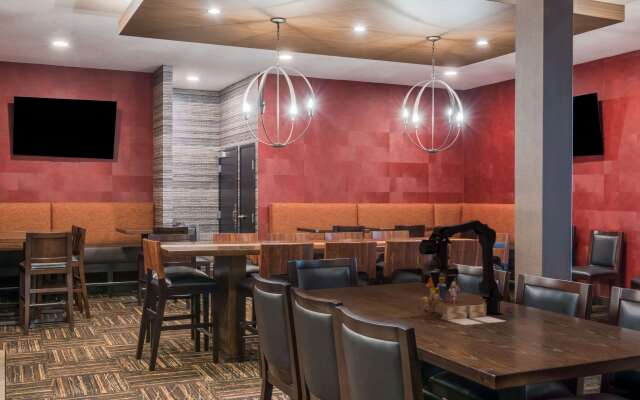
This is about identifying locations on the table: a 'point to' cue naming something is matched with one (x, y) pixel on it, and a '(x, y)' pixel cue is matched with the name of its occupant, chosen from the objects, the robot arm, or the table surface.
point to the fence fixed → (477, 310)
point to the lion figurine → (430, 302)
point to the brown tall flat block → (456, 312)
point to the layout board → (475, 320)
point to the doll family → (443, 290)
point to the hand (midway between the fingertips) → (441, 288)
